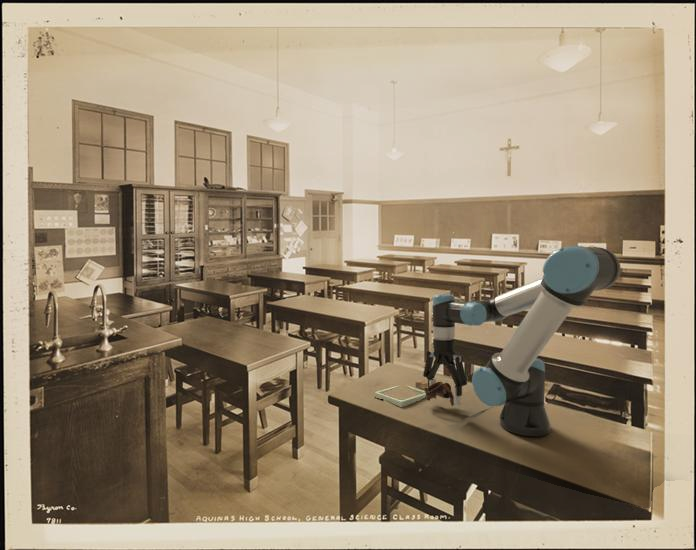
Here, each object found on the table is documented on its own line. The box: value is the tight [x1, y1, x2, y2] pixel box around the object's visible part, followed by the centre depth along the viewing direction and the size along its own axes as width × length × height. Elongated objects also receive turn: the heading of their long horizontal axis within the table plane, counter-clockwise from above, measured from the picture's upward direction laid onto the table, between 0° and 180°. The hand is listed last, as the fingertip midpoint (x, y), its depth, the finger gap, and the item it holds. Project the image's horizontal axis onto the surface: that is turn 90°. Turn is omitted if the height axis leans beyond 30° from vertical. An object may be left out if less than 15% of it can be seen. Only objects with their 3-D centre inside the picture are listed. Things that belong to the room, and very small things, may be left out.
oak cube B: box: [415, 379, 428, 390], centre depth 163 cm, size 4×4×4 cm
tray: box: [373, 385, 426, 408], centre depth 156 cm, size 14×16×2 cm
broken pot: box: [424, 381, 454, 407], centre depth 144 cm, size 12×9×8 cm
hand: (444, 401), depth 144 cm, fingers closed on broken pot, 10 cm apart
